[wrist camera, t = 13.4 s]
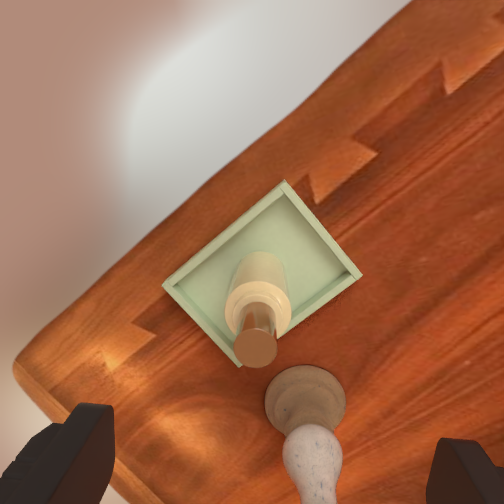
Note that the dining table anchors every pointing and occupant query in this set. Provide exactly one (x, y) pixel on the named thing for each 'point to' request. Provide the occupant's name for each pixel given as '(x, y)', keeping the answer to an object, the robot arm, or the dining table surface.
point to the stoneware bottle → (258, 308)
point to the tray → (272, 241)
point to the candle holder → (308, 429)
